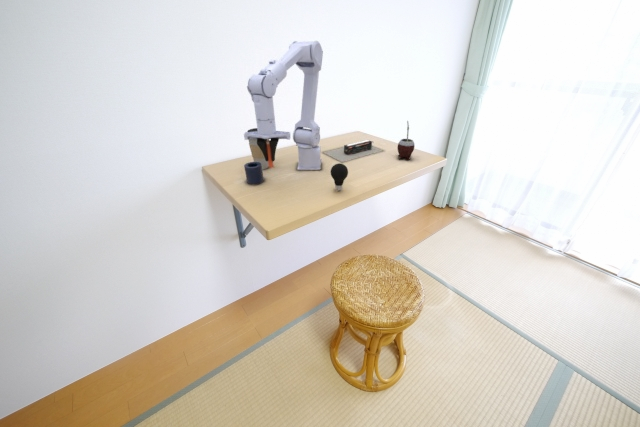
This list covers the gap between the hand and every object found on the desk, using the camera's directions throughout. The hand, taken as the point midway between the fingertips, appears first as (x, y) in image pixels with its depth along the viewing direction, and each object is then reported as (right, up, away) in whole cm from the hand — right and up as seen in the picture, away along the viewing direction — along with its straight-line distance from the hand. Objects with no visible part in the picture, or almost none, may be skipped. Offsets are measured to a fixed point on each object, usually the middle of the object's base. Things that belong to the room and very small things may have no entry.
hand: (270, 160), depth 88 cm
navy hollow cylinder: (-8, -6, +10) cm, 14 cm away
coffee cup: (-8, +2, +22) cm, 23 cm away
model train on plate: (+33, +11, +37) cm, 51 cm away
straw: (0, -2, +1) cm, 2 cm away
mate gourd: (+55, +7, +30) cm, 63 cm away
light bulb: (+23, -10, +3) cm, 26 cm away
